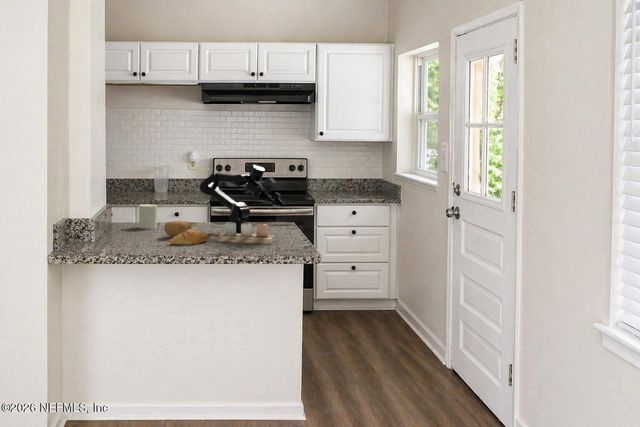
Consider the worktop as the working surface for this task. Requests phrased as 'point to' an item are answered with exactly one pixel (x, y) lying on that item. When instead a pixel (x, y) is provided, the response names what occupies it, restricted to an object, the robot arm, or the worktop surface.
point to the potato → (176, 227)
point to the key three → (262, 230)
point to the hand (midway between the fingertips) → (278, 204)
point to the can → (148, 216)
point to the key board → (246, 239)
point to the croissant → (189, 238)
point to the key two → (246, 229)
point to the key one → (230, 229)
